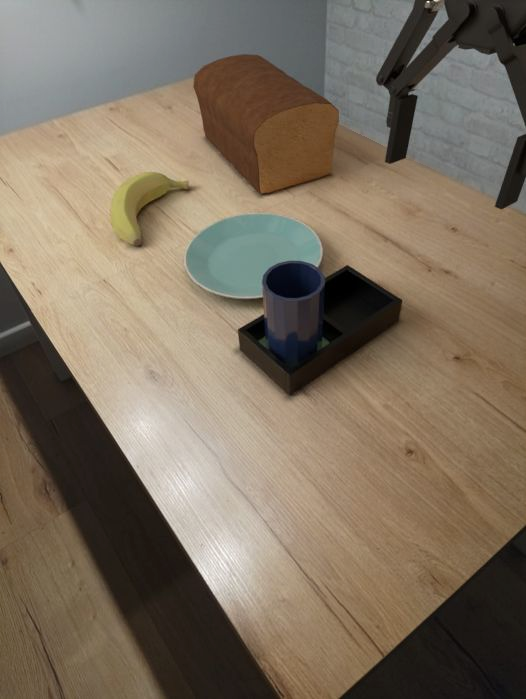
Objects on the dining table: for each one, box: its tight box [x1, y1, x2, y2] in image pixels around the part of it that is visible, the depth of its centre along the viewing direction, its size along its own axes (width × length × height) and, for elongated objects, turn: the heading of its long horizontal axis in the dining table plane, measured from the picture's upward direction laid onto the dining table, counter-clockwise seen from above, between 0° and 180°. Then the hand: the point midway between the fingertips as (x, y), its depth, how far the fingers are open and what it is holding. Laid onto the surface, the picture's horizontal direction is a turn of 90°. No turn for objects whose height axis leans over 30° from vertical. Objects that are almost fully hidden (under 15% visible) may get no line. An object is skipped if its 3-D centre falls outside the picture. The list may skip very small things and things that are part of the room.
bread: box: [192, 53, 340, 195], centre depth 103 cm, size 18×30×16 cm, turn 26°
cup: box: [262, 261, 326, 369], centre depth 65 cm, size 7×7×12 cm
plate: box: [183, 212, 324, 300], centre depth 83 cm, size 22×22×3 cm
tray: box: [237, 264, 404, 397], centre depth 71 cm, size 11×20×4 cm, turn 129°
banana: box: [110, 171, 190, 247], centre depth 95 cm, size 14×6×20 cm
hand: (446, 180), depth 53 cm, fingers open, 13 cm apart
